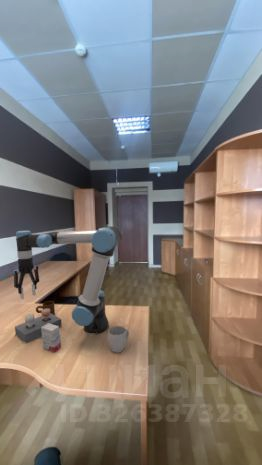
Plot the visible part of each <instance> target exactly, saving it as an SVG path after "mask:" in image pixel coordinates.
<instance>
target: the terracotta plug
mask: <svg viewBox="0 0 262 465" xmlns="http://www.w3.org/2000/svg"><path fill="white" fill-rule="evenodd" d="M41 310H42V313H41V316H44V322H46V321H48V320H49V315H50V309H49V308H47V309H43V308H42V309H41Z"/></svg>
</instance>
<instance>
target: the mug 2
mask: <svg viewBox="0 0 262 465" xmlns="http://www.w3.org/2000/svg"><path fill="white" fill-rule="evenodd" d="M107 330H108V331H107V332H108V333H107V336H108V337H107V338H108V344H109V345H108V346H109V348H110V350H111V351H112V352H113V353H120V352H121V353H122V352H123V351H124V350H125V348H126V342H127V340H128V339H129V337H130V331H129V330H128V329H127V328H125V327H124V326H122V325H114V326H111V327H110V328H108V329H107Z"/></svg>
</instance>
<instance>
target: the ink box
mask: <svg viewBox="0 0 262 465" xmlns="http://www.w3.org/2000/svg"><path fill="white" fill-rule="evenodd" d="M41 331H42V336H41V340H42V348H43V349H45V350H47V351H50V352H52V353H53V352H54V353H56V352H57V351H58V350H59V349H60V348H61V347H62V344H61V334H60V328H59V326H56V325H53V324H50V323H48V324H46V325H44V326H42V327H41Z"/></svg>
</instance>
